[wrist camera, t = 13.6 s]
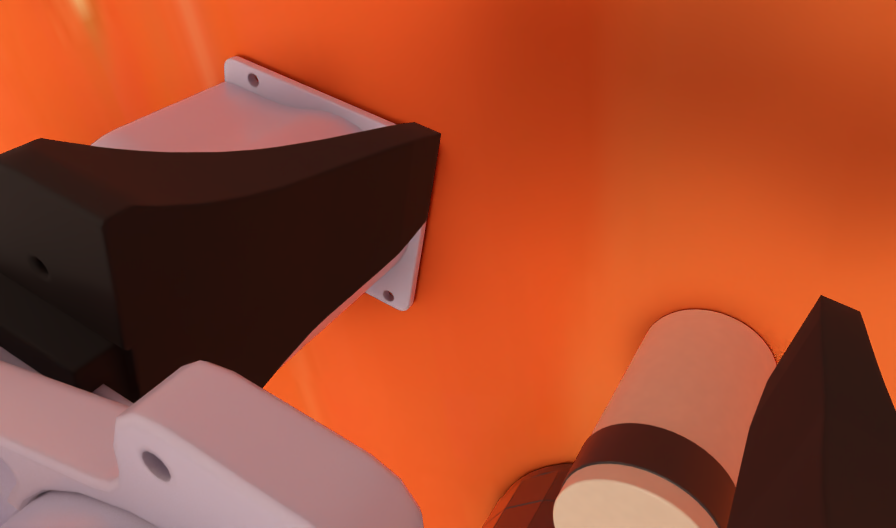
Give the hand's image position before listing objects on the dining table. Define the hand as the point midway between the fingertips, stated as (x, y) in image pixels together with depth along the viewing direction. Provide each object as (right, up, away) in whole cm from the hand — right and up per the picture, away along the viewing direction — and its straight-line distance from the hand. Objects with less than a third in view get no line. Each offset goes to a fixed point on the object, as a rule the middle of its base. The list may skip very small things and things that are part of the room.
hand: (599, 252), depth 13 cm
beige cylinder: (+6, -4, +11) cm, 13 cm away
